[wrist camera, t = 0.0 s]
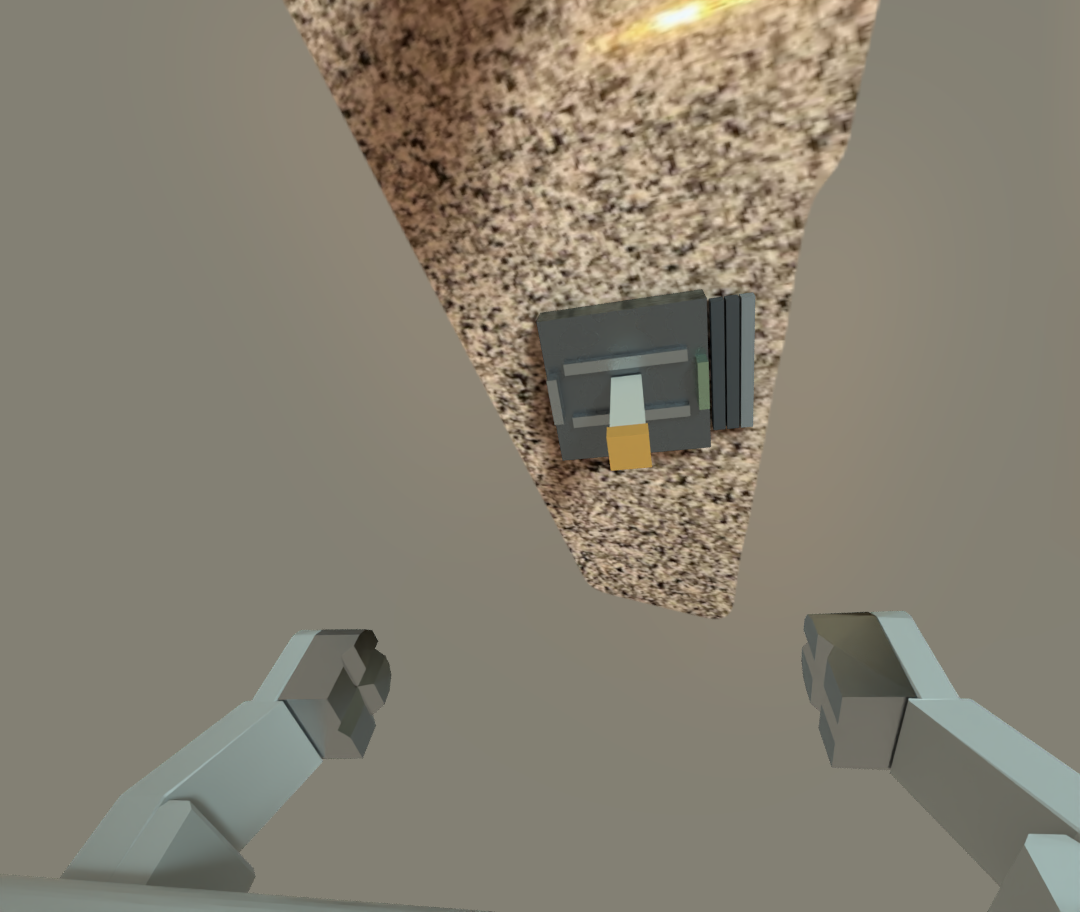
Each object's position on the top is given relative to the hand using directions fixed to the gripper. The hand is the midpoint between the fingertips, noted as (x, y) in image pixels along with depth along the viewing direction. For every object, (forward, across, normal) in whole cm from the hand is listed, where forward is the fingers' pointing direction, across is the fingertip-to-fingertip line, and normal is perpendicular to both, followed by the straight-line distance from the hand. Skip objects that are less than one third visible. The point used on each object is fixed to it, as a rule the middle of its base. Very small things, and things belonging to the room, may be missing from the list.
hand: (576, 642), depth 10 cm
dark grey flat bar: (+48, -10, +15) cm, 51 cm away
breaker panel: (+48, 0, +15) cm, 50 cm away
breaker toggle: (+45, 0, +15) cm, 47 cm away
